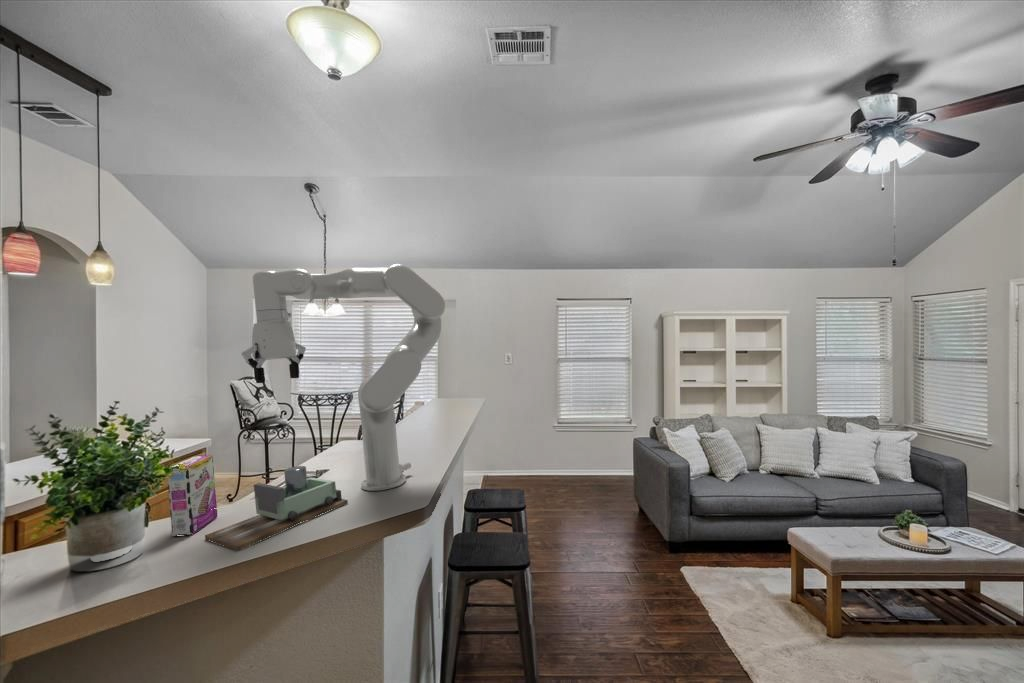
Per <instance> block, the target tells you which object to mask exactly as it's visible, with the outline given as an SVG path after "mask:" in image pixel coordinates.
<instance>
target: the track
mask: <svg viewBox="0 0 1024 683" xmlns="http://www.w3.org/2000/svg"><path fill="white" fill-rule="evenodd" d="M336 496H337V498H334V499H333V503H332V504H326V503H325V502H324V503H322V504H319V505H317V506H314V507H312V508H309V509H307V510H305V511H302V512H300V513H297V517H296V518H295V519H294V520H292V519H289V518H288V517H287V518H285V519H282V520H279V519H275V518H271V517H267V516H263V515H260V514H257V515H255V516H251V517H249V518H247V519H245V520H244V519H243V520H242V521H239V522H236V523H234V524H233V523H232V524H231V525H229V526H226V527H223V528H221V529H218V530H216V531H213V532H210V533H207V534H205V535H204V539H207V540H206V541H208V540H210V541H213V542H216V543H218V544H217V545H219V544H221V545H220V546H222V545H224V546H223V547H225V546H226V547H225V548H227V547H229V548H228V549H230V548H232V549H231V550H233V549H234V550H233V551H236V552H239V551H241V550H243V548H244V549H246V548H248V547H250V546H249V545H251V546H252V544H253V545H255V544H257V543H256V542H258V541H260V540H262V541H264V540H263V539H265V538H267V537H269V536H272V535H274V534H276V535H278V534H277V533H279V532H281V531H283V530H285V529H287V528H290V527H292V526H294V525H296V524H298V523H300V522H303V521H306V520H309V519H311V518H313V517H315V516H318V515H320V514H322V513H325V512H327V511H329V510H331V509H334V508H337V507H339V508H341V507H343V506H342V505H344V506H345V504H346V505H348V504H349V500H348V499H345V498H342V491H341V490H340V489H336ZM347 503H348V504H347ZM340 506H341V507H340ZM337 509H338V508H337ZM325 514H326V513H325ZM318 517H319V516H318ZM311 520H312V519H311ZM309 521H310V520H309ZM290 529H291V528H290ZM283 532H284V531H283ZM281 533H282V532H281ZM279 534H280V533H279ZM274 536H275V535H274ZM272 537H273V536H272ZM269 538H270V537H269ZM267 539H268V538H267ZM265 540H266V539H265ZM210 541H209V542H210ZM213 542H212V543H213ZM260 542H261V541H260ZM216 543H215V544H216ZM254 543H255V544H254ZM258 543H259V542H258ZM247 546H248V547H247ZM245 547H246V548H245Z"/></svg>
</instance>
